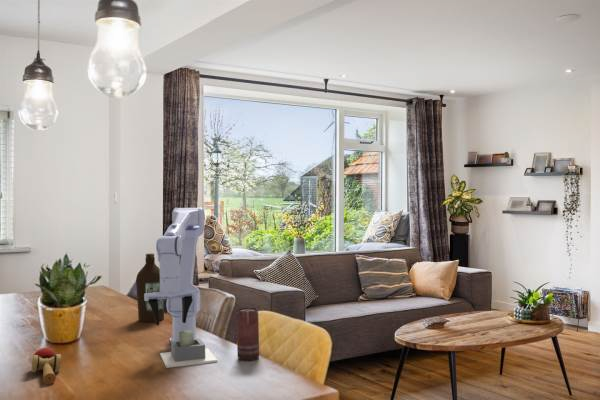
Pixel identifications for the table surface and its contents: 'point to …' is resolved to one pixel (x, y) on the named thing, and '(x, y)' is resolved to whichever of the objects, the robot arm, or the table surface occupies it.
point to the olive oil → (148, 290)
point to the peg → (186, 338)
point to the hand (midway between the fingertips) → (170, 323)
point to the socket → (187, 354)
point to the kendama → (47, 364)
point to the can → (247, 334)
